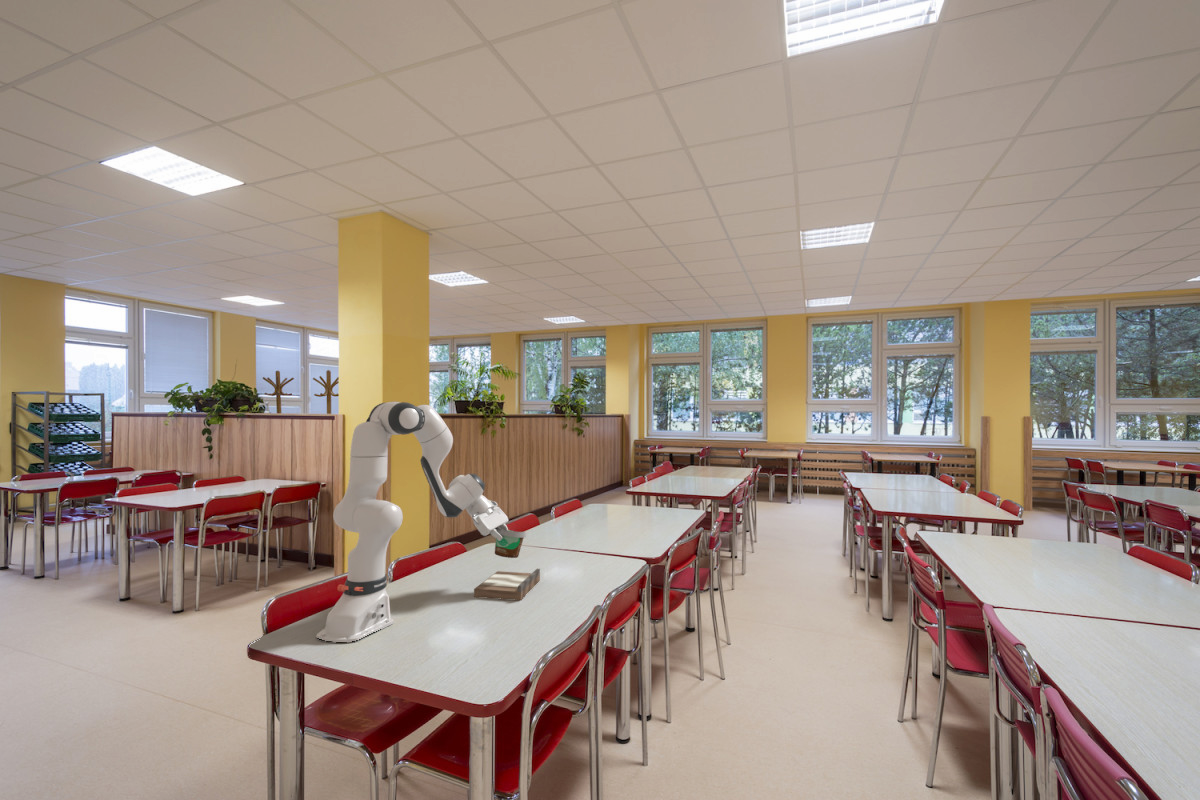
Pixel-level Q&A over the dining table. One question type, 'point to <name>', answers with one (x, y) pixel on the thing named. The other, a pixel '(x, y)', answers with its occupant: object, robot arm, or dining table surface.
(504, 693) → the dining table surface
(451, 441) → the robot arm
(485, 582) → the block
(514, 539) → the food container
